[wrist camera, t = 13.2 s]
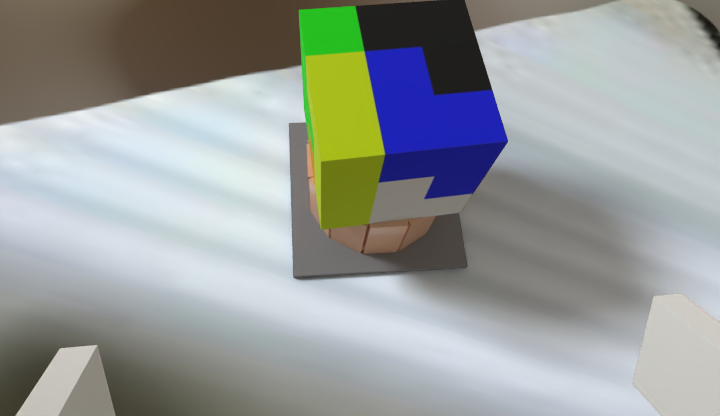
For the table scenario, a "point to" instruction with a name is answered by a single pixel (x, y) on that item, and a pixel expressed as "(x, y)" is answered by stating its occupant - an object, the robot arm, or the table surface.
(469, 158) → the puzzle toy
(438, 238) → the rubber mat
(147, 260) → the table surface
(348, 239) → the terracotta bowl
